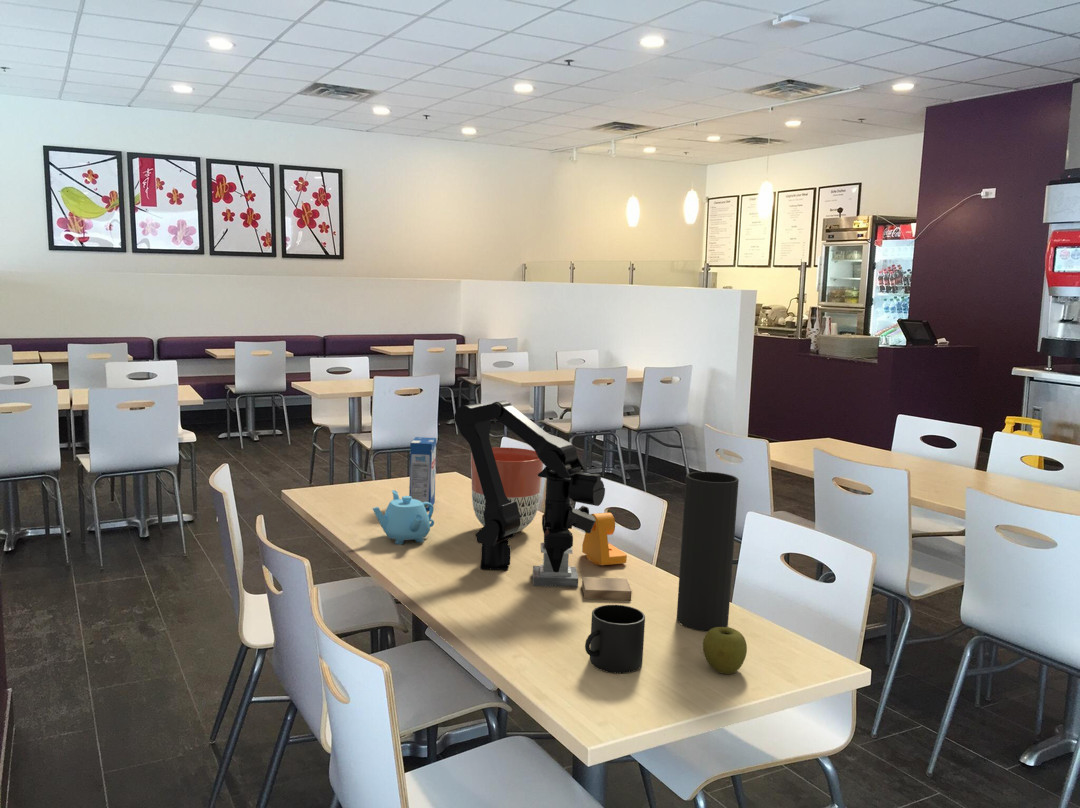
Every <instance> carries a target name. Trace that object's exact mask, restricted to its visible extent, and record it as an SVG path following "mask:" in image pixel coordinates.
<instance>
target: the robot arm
mask: <svg viewBox="0 0 1080 808" xmlns="http://www.w3.org/2000/svg"><path fill="white" fill-rule="evenodd" d="M453 419H454V422H455V425H456V428H457V429H458V432H459V435H461V436H462V438H463V439H464V440H465V441H466V442H467V443H468V446H469V448H470V451H471V453H472V456H473V459H474V463H475V466H476V470H477V473H478V477H479V480H480V484H481V487H482V491H483V494H484V498H485V502H486V504H485V510H484V522H485V526H483V527H481V528H480V529H479V530H477V532H476V533H475V534H474V535H475V539H476V543H477V544H481V553H480V554H481V556H480V558H481V559H480V564H479V565H480V566H479V568H480V570H501V571H502V570H503V571H504V570H505V571H506V570H509V566H510V565H511V555H512V554H511V549H512V547H511V545H509V540H511V539H513V538H514V536H515V534H516V533H515V532H516V531H517V530H518V529H519V526H520V523H521V522H520V518H521V517H522V516H521V515H520V513H519V510H518V504H517V502H516V501H514V502H510V500H509V499H508V498H507V497H506V495H505V492H504V489H503V485H502V482H501V478H500V475H499V471H498V468H497V464H496V461H495V457H494V454H493V450H492V448H493V447H492V444H491V440H490V436H491V435H490V434H491V430H492V429H491V428H492V423H491V422H492V421H494V420H497V421H498V422H499V423H501V424H502V425H503V426H504V427H506V428H507V429H509V430H510V431H511V433H513V434H514V435H516V436H517V437H519V438H520V439H521V440H522V441H523V442H524V443H526V444H527V445H528V446H530V447H531V448H532V450H533V451H535V452H536V454H537V456H538V458H539V459H540V460H541V461H542V463H543V466H545V467H543V470H542V471H541V472H540V473H539V474H538V476H539V477H542V478H544V479H546V483H545V500H544V513H543V514H542V515H541V526H542V527H541V528H542V531H543V543H544V546H545V549H546V552H547V554H548V557H549V560H550V563H551V566H552V569H553V571H554V572H559V569H560V565H561V562H562V558H563V555H564V552H565V551H566V550H568V549H570V548H571V547H573V545H574V536H573V533H572V532H571V531H570V530H571V529H572V528H573V527H574V528H576V529H578V530H582V531H583V532H584V533H585V532H586V533H591V530H592V528H593V526H594V523H595V521H596V520H595V517H594V516H592V514H593V513H591V514H590V510H589V509H590V508H589V507H588V506H585V505H589V506H596V507H599V506H601V504H602V503H603V501H604V498H605V494H606V488H605V484H604V482H603V480H602V474H599V473H593V474H592V473H587V472H586V471H587V470H586V469H585V467H584V465H583V463H582V462H581V460H580V458H579V456H578V453H577V448H576V446H575V445H574V444H573V443H571V442H569V441H567V440H565V439H563V438H562V437H560V436H559V437H558V436H556V435H553V434H550V433H548V432H547V431H545V430H544V429H543V428H541V427H540V426H539V425H537V423H535V422H534V421H532V420H531V419H530V418H529V417H527V416H526V415H525V414H523V413H522V412H521V411H519V410H518V409H517V408H515V407H514V406H513V405H512V403H511V402H509V401H507V400H499V401H493V402H492V403H488V404H483V403H472V404H466V405H461V406H459V407H458V408H457V409H456V411H455V413H454V415H453ZM567 468H568V469H567ZM572 501H573V502H574V503H580V504H585V505H582V506H580V507H578V508H574V506H573V505H572Z"/></svg>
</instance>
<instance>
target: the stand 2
mask: <svg viewBox="0 0 1080 808" xmlns="http://www.w3.org/2000/svg"><path fill="white" fill-rule="evenodd" d="M581 578H582V579H581V580H582V581H581V587H582V591H583V596H584V599H587V600H592V599H593V600H611V601H612V600H614V601H615V600H617V601H618V600H619V601H632V594H633V593H632V591H633V590H632V588H631V585H630V583H629V580H628V578H624V577H623V578H618V577H615V578H614V577H588V576H587V577H586V576H585V577H584V576H582V577H581Z"/></svg>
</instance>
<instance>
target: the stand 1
mask: <svg viewBox="0 0 1080 808" xmlns="http://www.w3.org/2000/svg"><path fill="white" fill-rule="evenodd" d="M570 568H571V576H551V575H540V565H532V587H534V586H535V587H556V588H557V587H559V588H560V587H561V588H579V575H578V571H577V567H576V566H570Z"/></svg>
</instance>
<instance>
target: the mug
mask: <svg viewBox="0 0 1080 808" xmlns="http://www.w3.org/2000/svg"><path fill="white" fill-rule="evenodd" d="M645 623H646V615H645V613H644V612H643V611H641V610H640V609H638V608H635V607H632V606H628V605H622V604H604V605H600V606H598V607H595V608H594V609H593V610H592V612H591V623H590V626H591V627H590V634H589V635H588V636H587V638H586V639H585V645H584V649H585V652H586V654H587V655H588V656H589V662H590V663H591V665H592V666H593V667H594V668H596V669H598V670H599V671H602V672H606V673H610V674H611V673H612V674H629V673H634V672H636V671H639V669H640V668H641V667H642V666H643V662H644V661H643V659H644V643H645V627H646V626H645V625H646V624H645Z"/></svg>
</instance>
